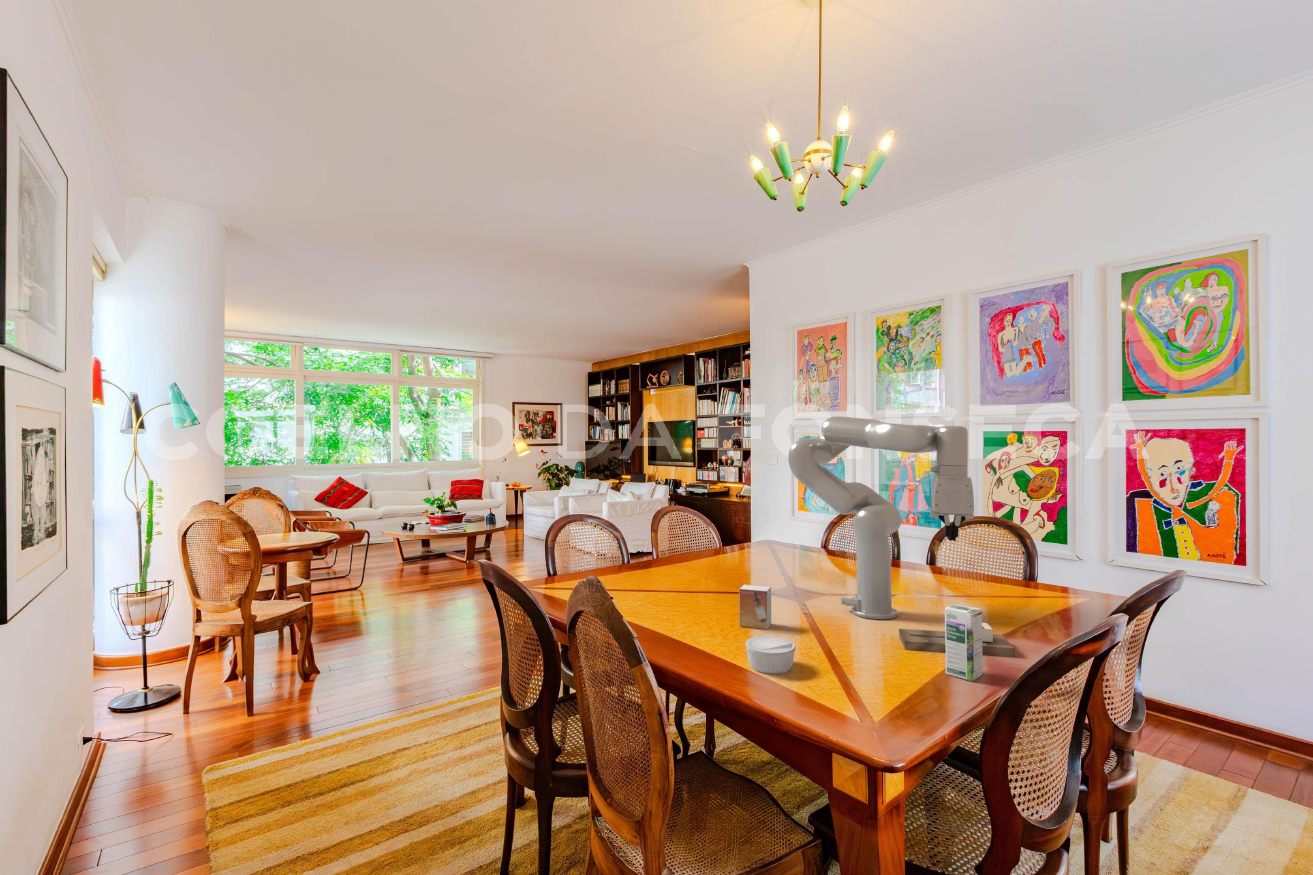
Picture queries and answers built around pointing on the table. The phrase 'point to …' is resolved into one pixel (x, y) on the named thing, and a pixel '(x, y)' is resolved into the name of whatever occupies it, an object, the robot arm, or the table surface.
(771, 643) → the ramekin
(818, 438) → the robot arm
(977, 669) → the syrup box
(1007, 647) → the fader board
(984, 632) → the fader knob
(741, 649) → the table surface
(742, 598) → the small box
